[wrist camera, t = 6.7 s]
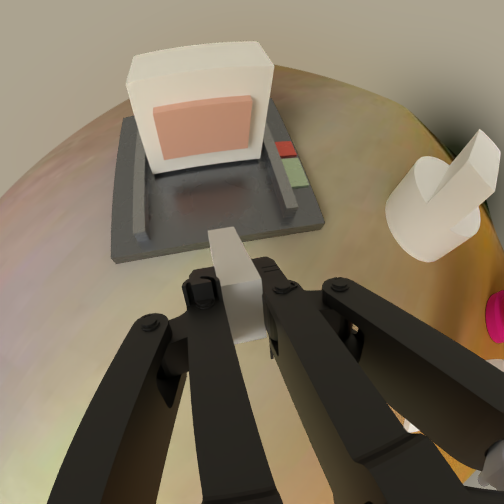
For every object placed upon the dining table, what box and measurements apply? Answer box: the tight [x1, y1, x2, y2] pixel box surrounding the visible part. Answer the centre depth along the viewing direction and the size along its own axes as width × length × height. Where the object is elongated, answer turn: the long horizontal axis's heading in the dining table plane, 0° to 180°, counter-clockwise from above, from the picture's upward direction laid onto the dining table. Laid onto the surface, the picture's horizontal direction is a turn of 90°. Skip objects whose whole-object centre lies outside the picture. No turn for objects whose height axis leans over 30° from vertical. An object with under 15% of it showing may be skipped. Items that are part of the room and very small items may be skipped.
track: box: [111, 98, 325, 264], centre depth 23 cm, size 18×18×6 cm
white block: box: [126, 41, 274, 174], centre depth 20 cm, size 10×6×10 cm, turn 102°
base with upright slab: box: [385, 129, 501, 262], centre depth 20 cm, size 9×9×12 cm
